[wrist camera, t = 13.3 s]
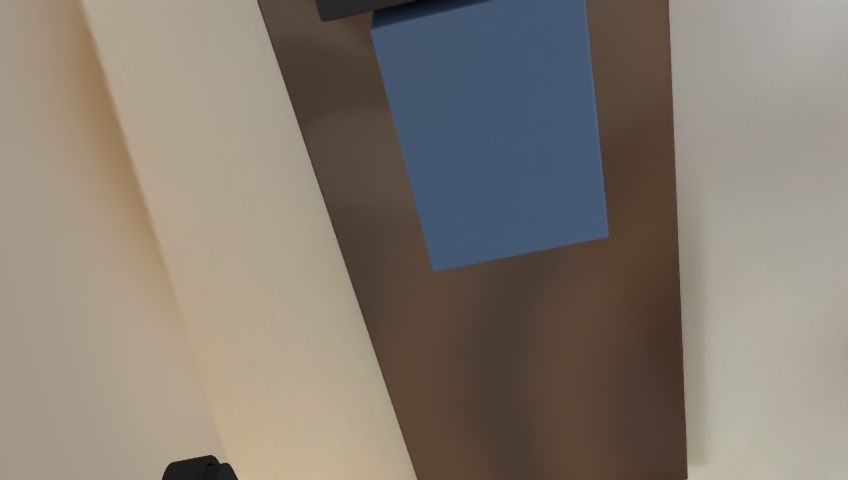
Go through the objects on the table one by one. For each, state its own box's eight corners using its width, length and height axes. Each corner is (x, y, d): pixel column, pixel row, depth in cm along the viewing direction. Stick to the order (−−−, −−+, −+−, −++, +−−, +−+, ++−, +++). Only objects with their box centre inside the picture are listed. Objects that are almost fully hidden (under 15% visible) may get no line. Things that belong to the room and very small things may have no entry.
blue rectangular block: (427, 192, 24) (432, 273, 20) (376, -15, 21) (369, 29, 16) (572, 162, 24) (609, 237, 20) (545, -56, 20) (583, -21, 16)
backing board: (430, 505, 34) (431, 522, 33) (193, -215, 19) (183, -217, 18) (680, 463, 33) (688, 480, 32) (643, -337, 18) (655, -345, 17)
